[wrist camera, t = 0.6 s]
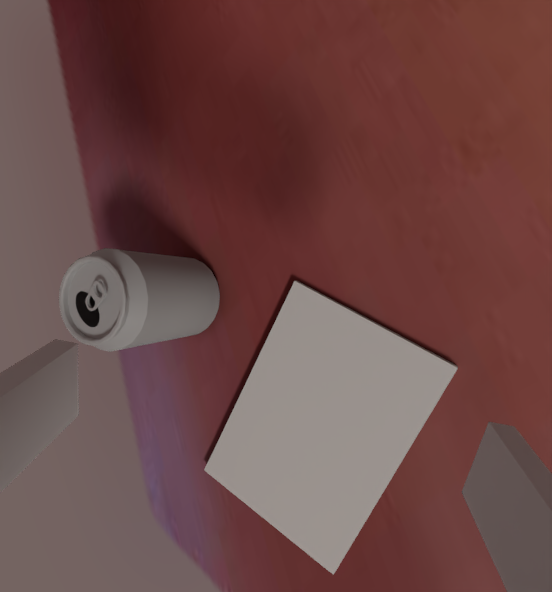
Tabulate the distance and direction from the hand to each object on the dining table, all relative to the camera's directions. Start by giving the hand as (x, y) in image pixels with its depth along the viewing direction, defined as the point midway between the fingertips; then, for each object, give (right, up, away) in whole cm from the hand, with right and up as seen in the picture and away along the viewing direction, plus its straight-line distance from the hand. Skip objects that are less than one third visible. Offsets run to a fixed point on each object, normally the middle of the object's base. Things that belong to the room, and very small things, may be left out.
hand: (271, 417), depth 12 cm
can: (-8, +4, +25) cm, 27 cm away
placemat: (+4, -7, +20) cm, 22 cm away
